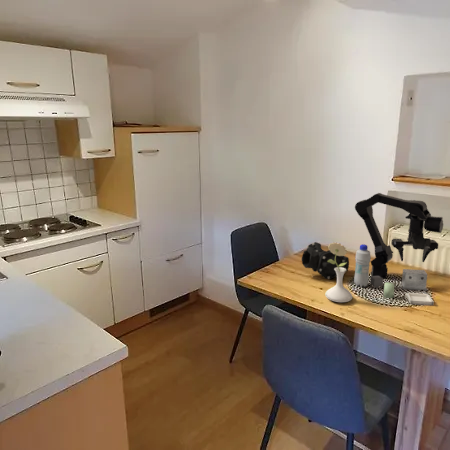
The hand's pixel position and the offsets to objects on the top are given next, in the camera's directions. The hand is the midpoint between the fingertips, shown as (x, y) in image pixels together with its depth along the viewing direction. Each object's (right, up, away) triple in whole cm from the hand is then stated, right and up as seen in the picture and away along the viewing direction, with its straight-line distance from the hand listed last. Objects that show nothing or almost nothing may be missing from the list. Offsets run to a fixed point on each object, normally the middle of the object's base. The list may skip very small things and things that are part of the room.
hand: (412, 261), depth 180 cm
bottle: (-23, -12, +2) cm, 26 cm away
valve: (-38, -7, +21) cm, 44 cm away
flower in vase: (-38, -15, -11) cm, 42 cm away
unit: (-1, -12, -2) cm, 12 cm away
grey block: (-16, -11, +2) cm, 20 cm away
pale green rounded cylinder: (-16, -15, -10) cm, 24 cm away
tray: (-4, -15, -14) cm, 22 cm away
